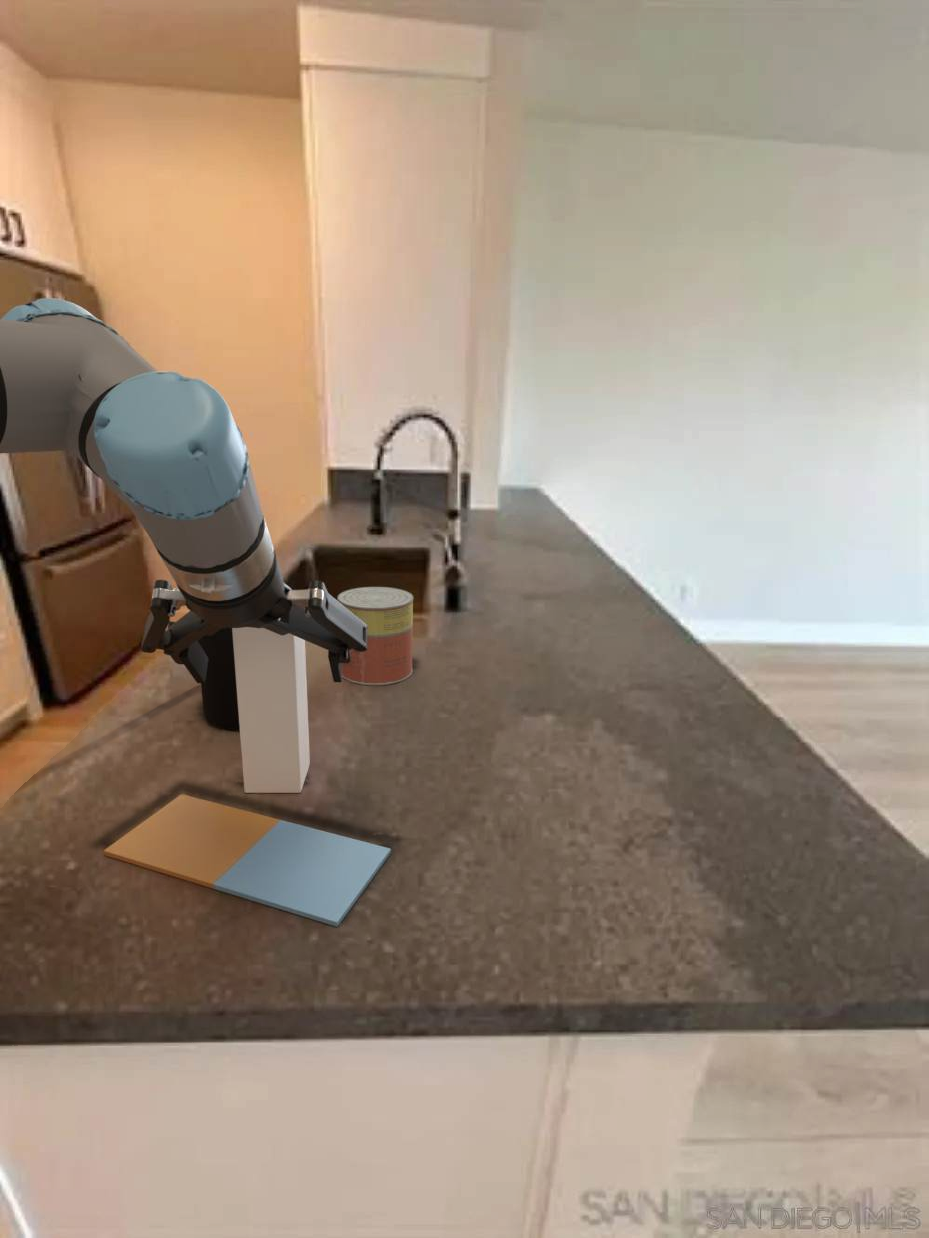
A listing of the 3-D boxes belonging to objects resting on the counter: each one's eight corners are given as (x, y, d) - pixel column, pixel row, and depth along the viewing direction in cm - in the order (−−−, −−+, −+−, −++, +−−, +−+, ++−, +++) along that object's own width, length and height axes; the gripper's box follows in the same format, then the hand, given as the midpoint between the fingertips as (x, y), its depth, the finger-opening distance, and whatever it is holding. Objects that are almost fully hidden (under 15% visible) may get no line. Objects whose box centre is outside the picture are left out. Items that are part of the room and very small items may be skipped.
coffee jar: (300, 719, 88) (294, 586, 82) (216, 739, 82) (204, 598, 76) (272, 690, 96) (265, 568, 91) (194, 707, 90) (181, 577, 85)
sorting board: (103, 855, 61) (103, 850, 61) (182, 797, 70) (181, 793, 70) (337, 927, 54) (337, 922, 54) (391, 852, 63) (391, 848, 63)
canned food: (403, 655, 111) (403, 585, 107) (420, 681, 101) (422, 605, 97) (334, 661, 108) (332, 588, 104) (345, 689, 98) (343, 610, 94)
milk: (310, 765, 77) (304, 579, 71) (300, 794, 72) (293, 595, 65) (256, 764, 77) (245, 577, 70) (242, 793, 71) (229, 593, 64)
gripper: (36, 605, 48) (138, 706, 66) (391, 606, 50) (392, 703, 69) (60, 517, 51) (151, 637, 70) (391, 522, 53) (393, 637, 72)
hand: (271, 670), depth 69 cm, fingers open, 13 cm apart
